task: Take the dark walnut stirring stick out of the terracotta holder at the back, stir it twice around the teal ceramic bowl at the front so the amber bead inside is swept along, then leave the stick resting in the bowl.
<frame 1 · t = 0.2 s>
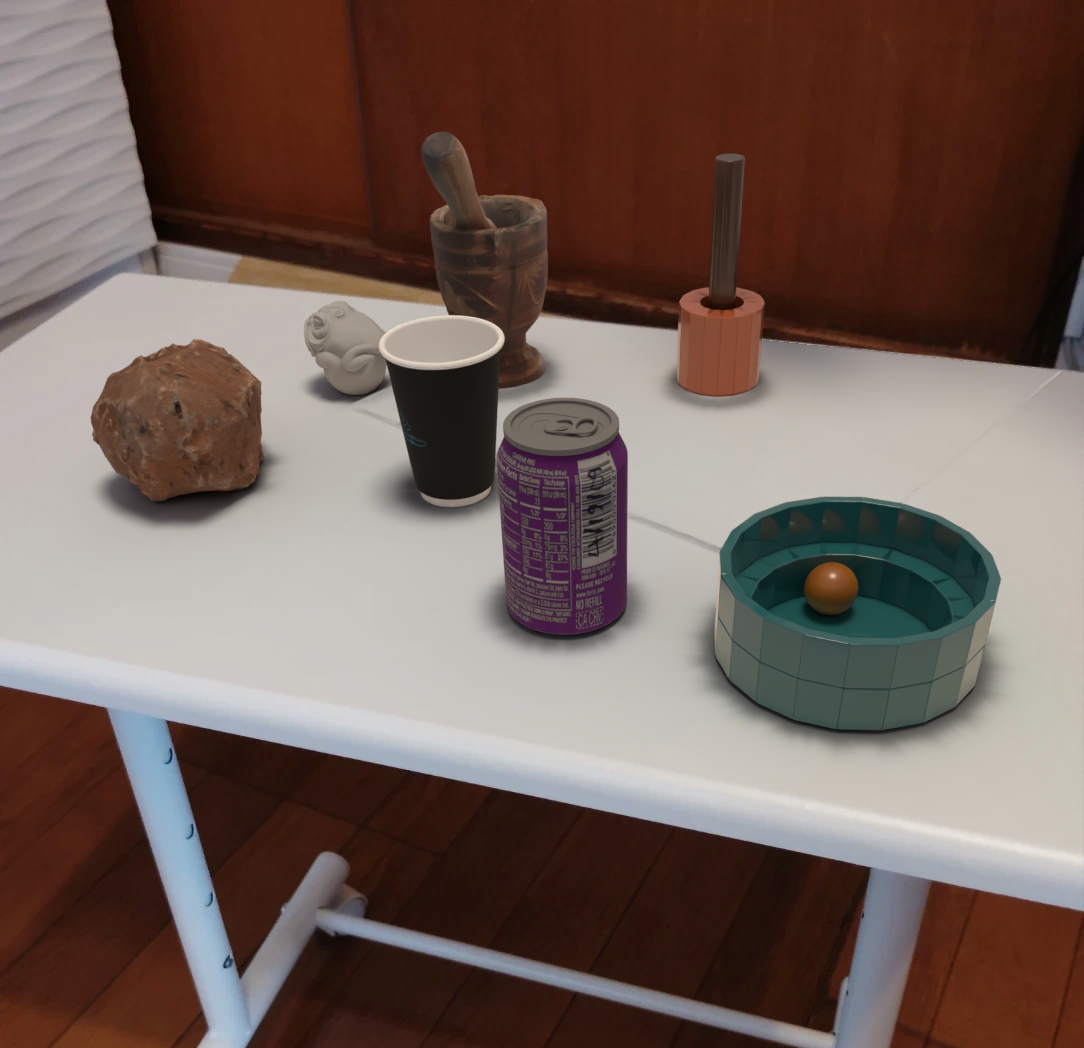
holder: (716, 390, 92), on the table
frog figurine: (356, 394, 95), on the table
mortar and pestle: (498, 392, 94), on the table
stirring stick: (717, 378, 92), point 1 cm above the table, touching holder
dixie cup: (456, 496, 82), on the table
bowl: (842, 655, 66), on the table
decorative rock: (197, 485, 84), on the table
beverage can: (567, 612, 70), on the table
bead: (831, 588, 67), point 2 cm above the table, touching bowl
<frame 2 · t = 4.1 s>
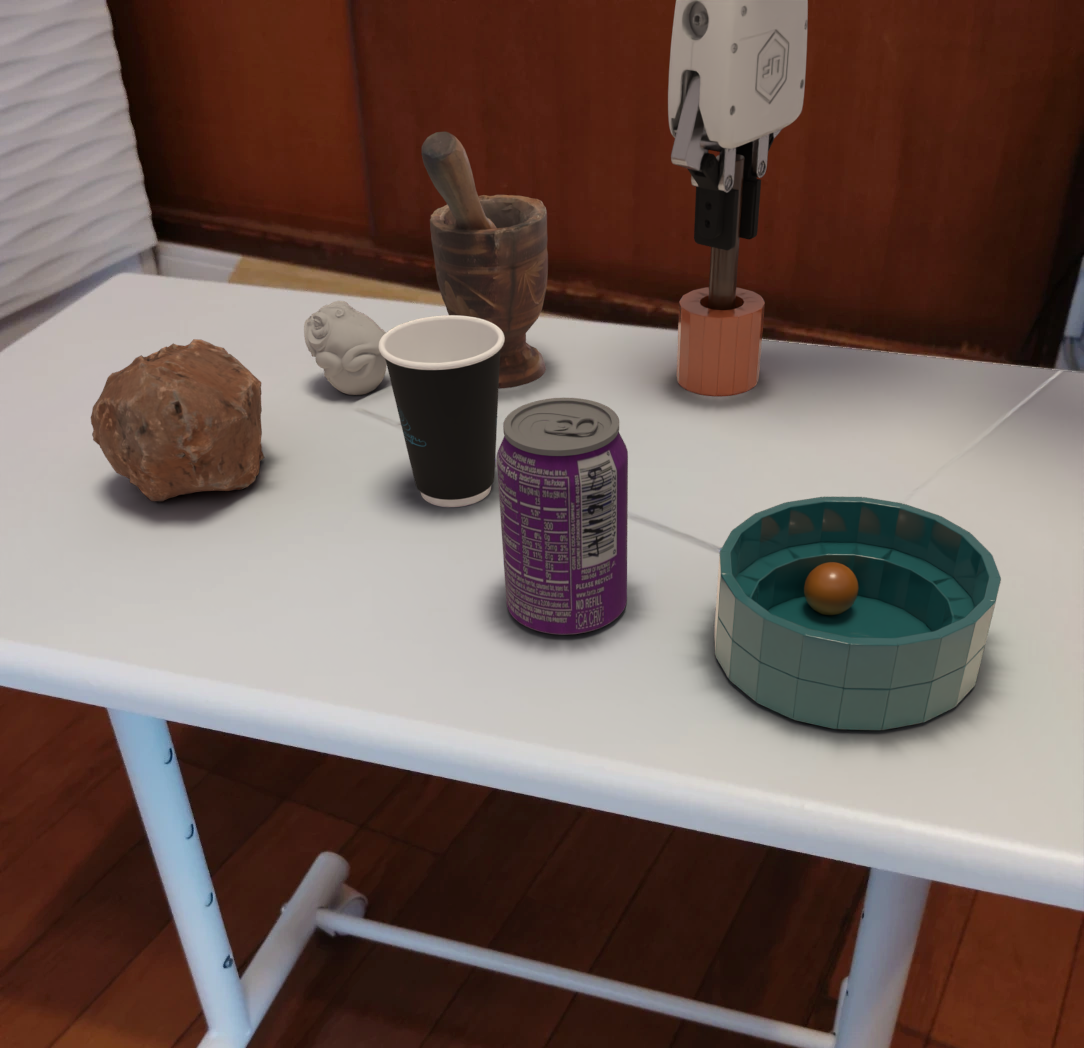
hand: (725, 238, 85), 12 cm above the table, tool pointing down, fingers closed on stirring stick, 2 cm apart
stirring stick: (717, 378, 92), point 1 cm above the table, touching gripper, holder
everything else where it was.
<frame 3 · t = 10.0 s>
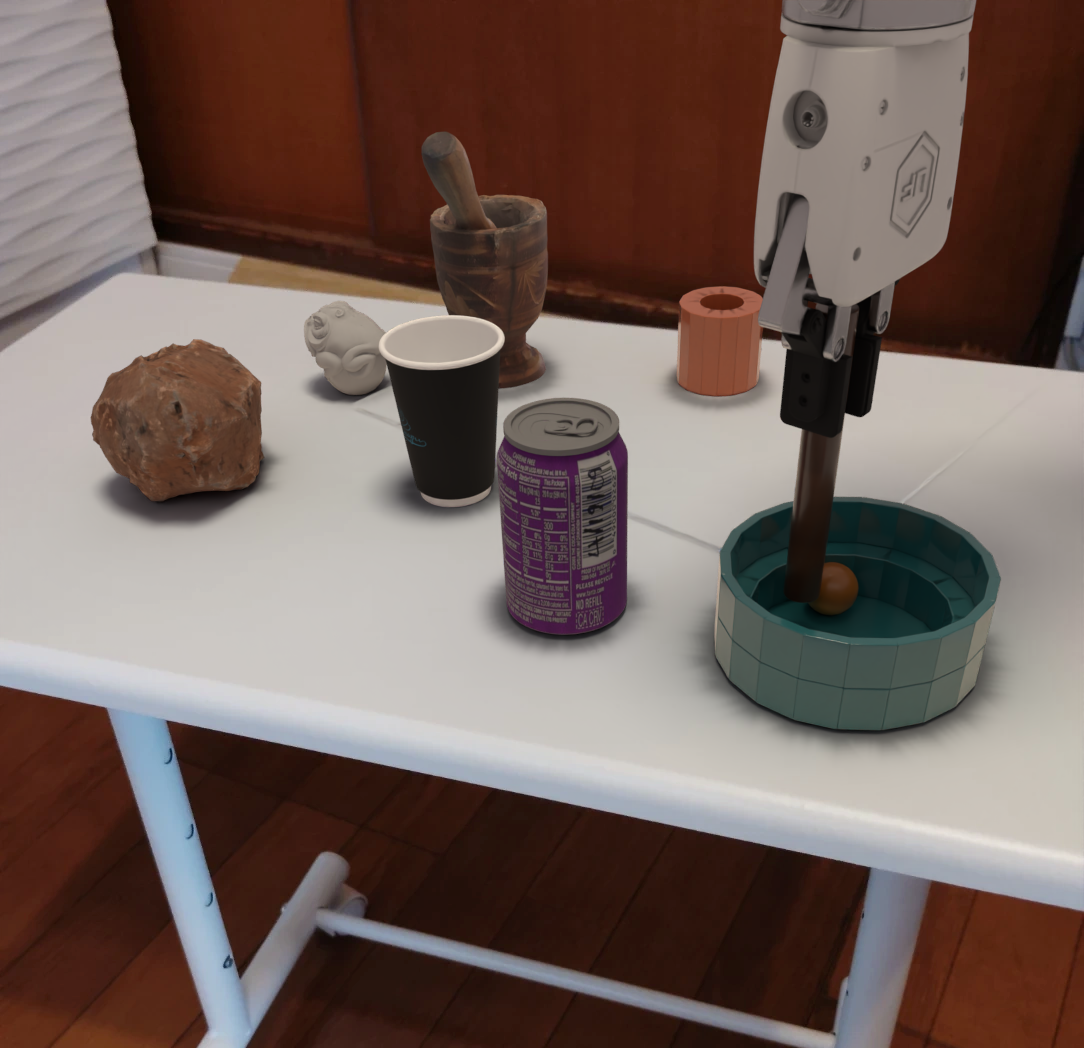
hand: (825, 415, 59), 13 cm above the table, tool pointing down, fingers closed on stirring stick, 2 cm apart
stirring stick: (801, 593, 65), point 3 cm above the table, touching gripper
everything else where it was.
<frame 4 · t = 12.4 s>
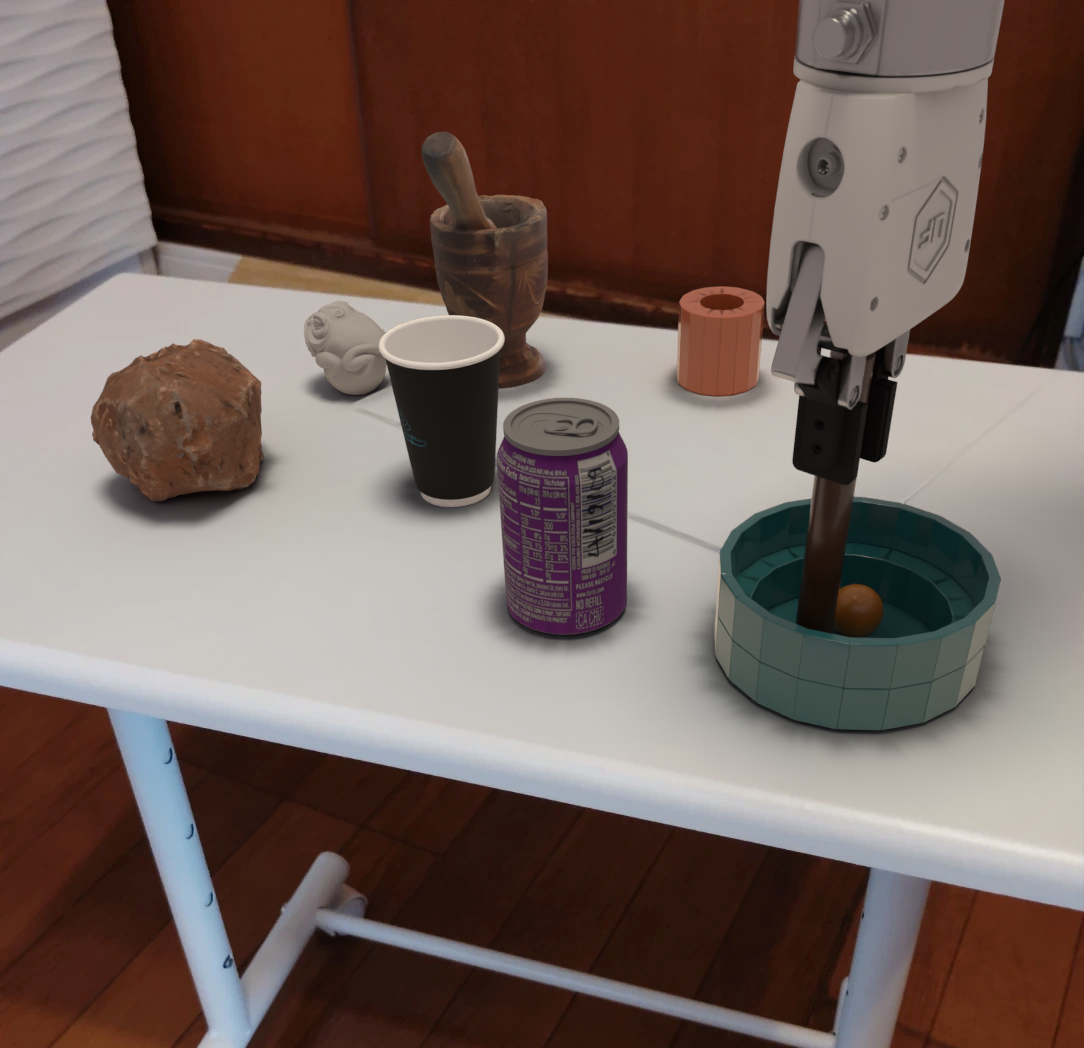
hand: (838, 461, 57), 13 cm above the table, tool pointing down, fingers closed on stirring stick, 2 cm apart
stirring stick: (812, 637, 64), point 2 cm above the table, touching gripper
bead: (855, 611, 65), point 2 cm above the table, tilted 70°, touching bowl
everything else where it was.
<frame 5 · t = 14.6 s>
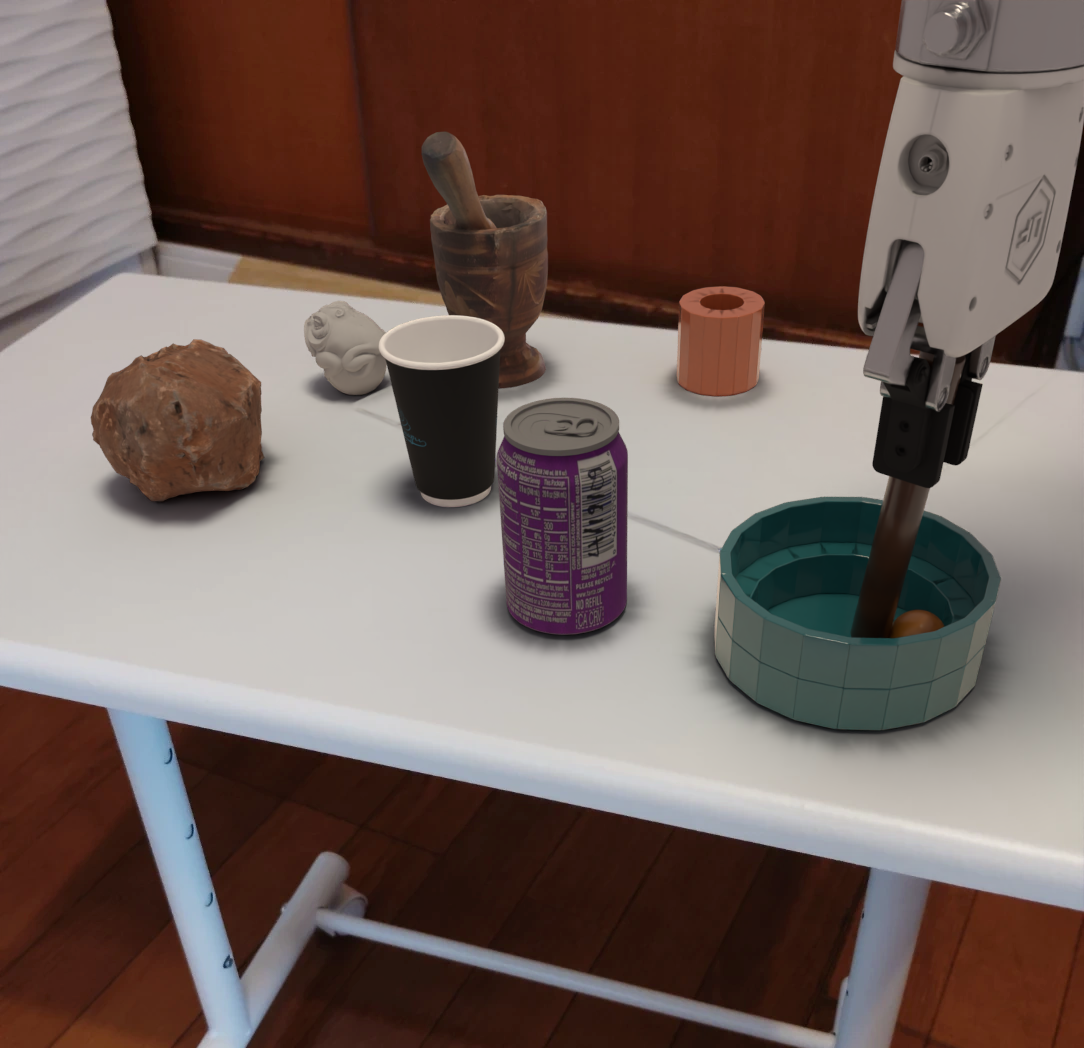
hand: (919, 464, 56), 13 cm above the table, tool pointing down, fingers closed on stirring stick, 2 cm apart
stirring stick: (869, 636, 64), point 2 cm above the table, touching bead, gripper
bead: (917, 637, 63), point 2 cm above the table, tilted 103°, touching stirring stick
everything else where it was.
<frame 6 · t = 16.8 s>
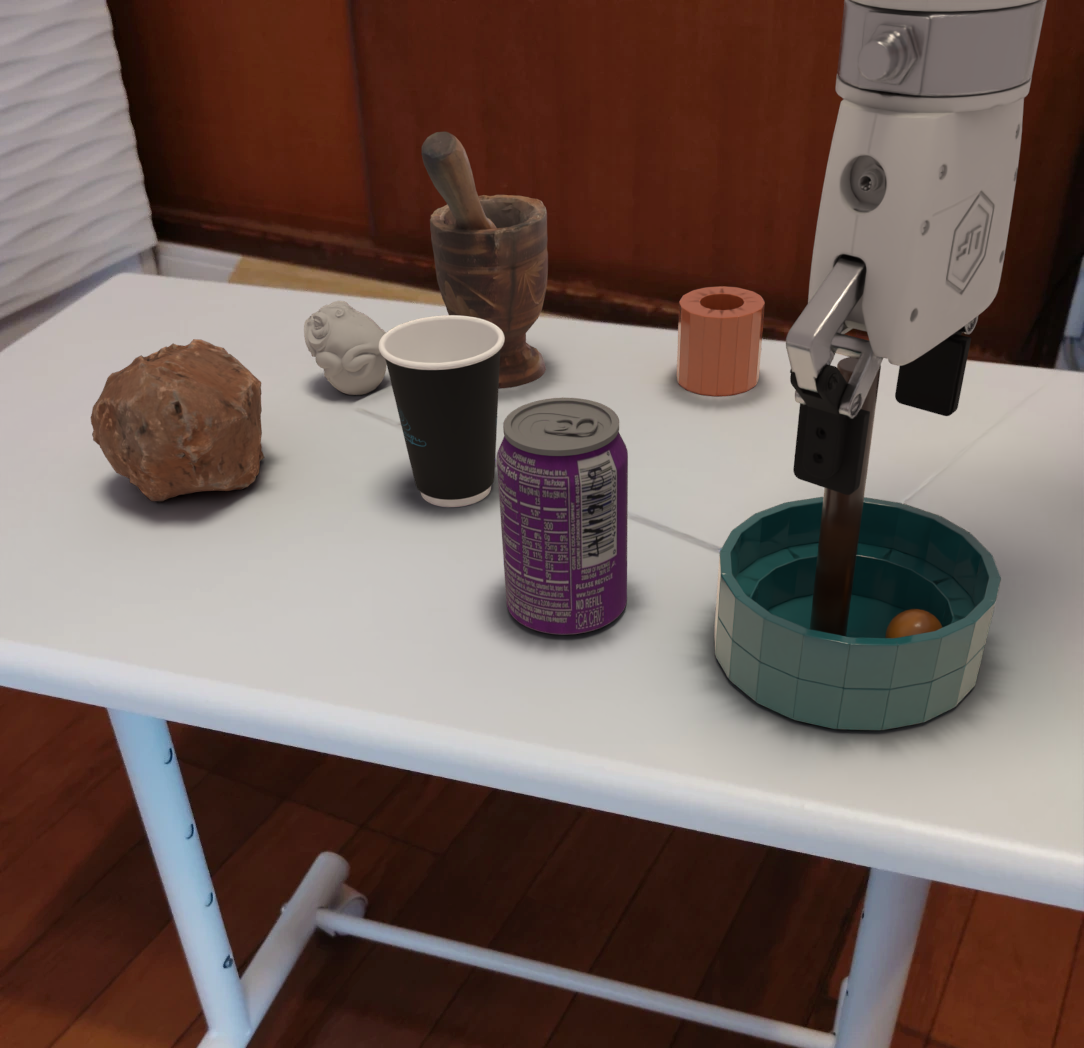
hand: (877, 444, 58), 13 cm above the table, tool pointing down, fingers open, 9 cm apart
stirring stick: (826, 641, 66), point 1 cm above the table, touching bowl
bead: (914, 637, 63), point 2 cm above the table, tilted 97°, touching bowl
everything else where it was.
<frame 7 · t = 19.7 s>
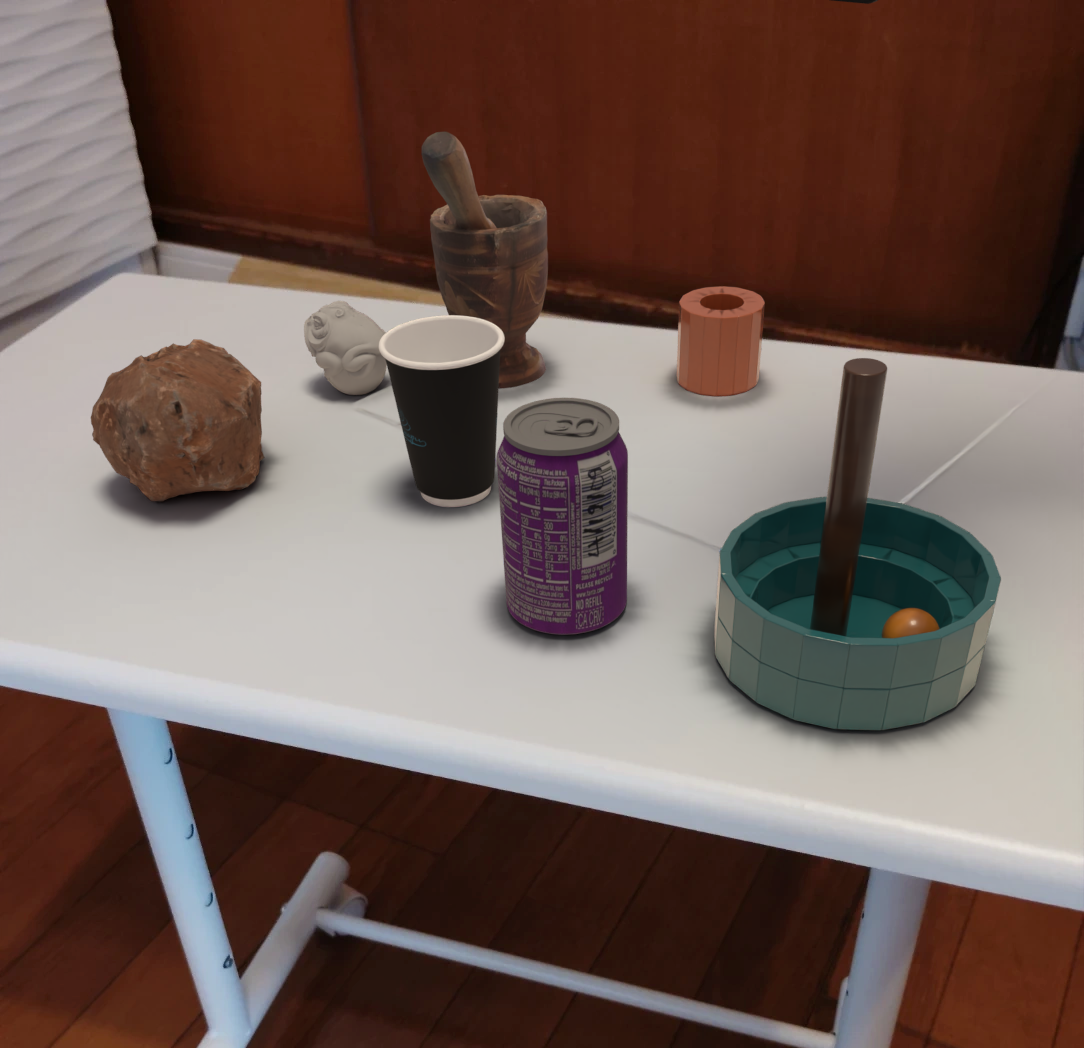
bead: (910, 635, 63), point 2 cm above the table, tilted 89°, touching bowl
everything else where it was.
at the end: stirring stick inside the target area in the bowl (1.0 cm from its centre), point 0.6 cm above the bowl's base; bead moved 5.8 cm from its start; bead inside the target area in the bowl (3.3 cm from its centre), point 2.1 cm above the bowl's base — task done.
